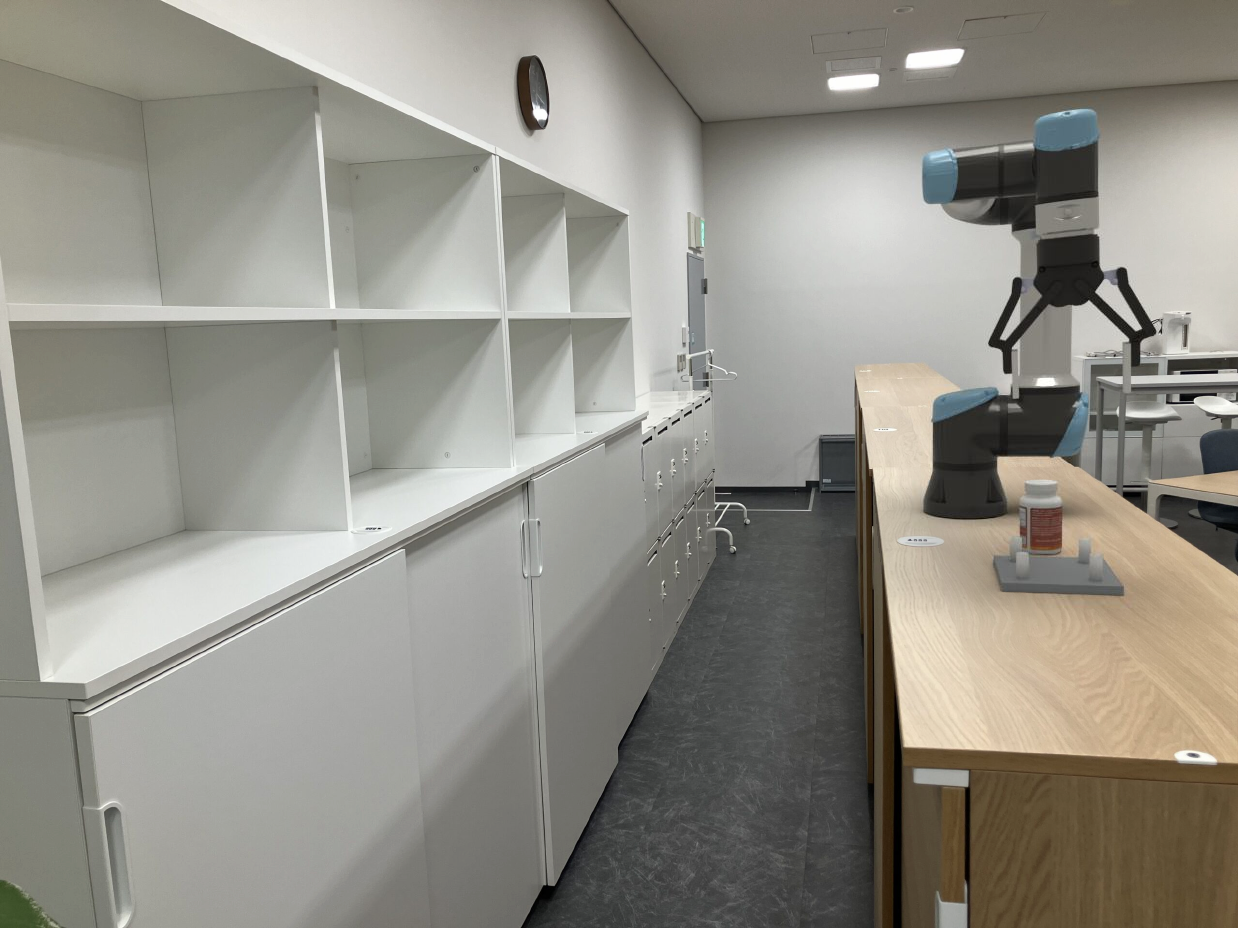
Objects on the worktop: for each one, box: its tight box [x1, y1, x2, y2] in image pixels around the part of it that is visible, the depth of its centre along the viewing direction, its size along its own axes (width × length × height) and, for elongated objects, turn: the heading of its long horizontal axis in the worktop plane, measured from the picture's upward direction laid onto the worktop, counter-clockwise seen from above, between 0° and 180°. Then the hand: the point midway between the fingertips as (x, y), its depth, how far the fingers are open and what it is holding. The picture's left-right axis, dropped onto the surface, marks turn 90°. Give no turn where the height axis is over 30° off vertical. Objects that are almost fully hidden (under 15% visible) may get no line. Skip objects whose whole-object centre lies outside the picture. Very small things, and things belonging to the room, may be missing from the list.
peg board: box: [993, 536, 1125, 596], centre depth 132 cm, size 15×15×5 cm
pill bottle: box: [1019, 479, 1063, 555], centre depth 147 cm, size 6×6×11 cm
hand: (1070, 394), depth 127 cm, fingers open, 13 cm apart
